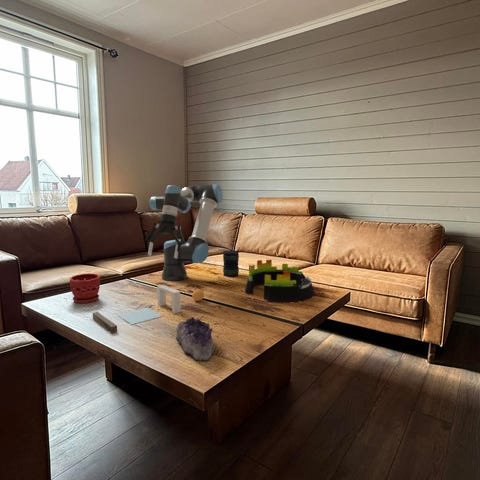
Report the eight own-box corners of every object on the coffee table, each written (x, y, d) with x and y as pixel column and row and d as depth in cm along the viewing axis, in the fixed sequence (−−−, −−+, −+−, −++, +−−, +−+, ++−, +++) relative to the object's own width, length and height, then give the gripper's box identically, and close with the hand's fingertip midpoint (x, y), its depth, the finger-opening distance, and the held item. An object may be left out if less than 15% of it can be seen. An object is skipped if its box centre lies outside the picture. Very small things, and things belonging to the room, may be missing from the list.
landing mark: (147, 307, 155) (147, 307, 155) (163, 316, 144) (163, 315, 144) (117, 315, 145) (117, 314, 145) (131, 324, 135) (131, 324, 135)
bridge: (163, 303, 161) (163, 284, 159) (180, 311, 150) (180, 291, 149) (158, 305, 159) (157, 285, 157) (174, 313, 148) (174, 292, 147)
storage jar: (241, 276, 213) (241, 252, 210) (226, 277, 209) (226, 253, 207) (235, 272, 222) (235, 250, 220) (221, 274, 218) (220, 251, 216)
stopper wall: (97, 317, 143) (97, 311, 143) (117, 331, 128) (117, 325, 128) (92, 318, 142) (92, 312, 141) (112, 333, 127) (111, 326, 127)
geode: (226, 357, 109) (223, 329, 107) (192, 370, 105) (188, 340, 102) (205, 331, 127) (201, 307, 125) (174, 341, 123) (170, 315, 120)
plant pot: (65, 302, 162) (63, 277, 160) (88, 295, 173) (87, 272, 172) (83, 306, 156) (82, 281, 154) (107, 298, 167) (105, 275, 166)
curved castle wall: (315, 306, 159) (316, 274, 157) (238, 300, 166) (238, 270, 164) (314, 285, 195) (315, 259, 193) (251, 281, 202) (251, 256, 200)
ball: (199, 298, 169) (199, 287, 168) (206, 300, 165) (206, 289, 164) (190, 300, 165) (189, 289, 164) (196, 303, 161) (196, 292, 160)
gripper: (143, 211, 172) (135, 252, 168) (191, 215, 168) (184, 257, 164) (148, 215, 179) (141, 255, 175) (194, 219, 176) (188, 260, 171)
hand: (162, 256), depth 169 cm, fingers open, 13 cm apart
